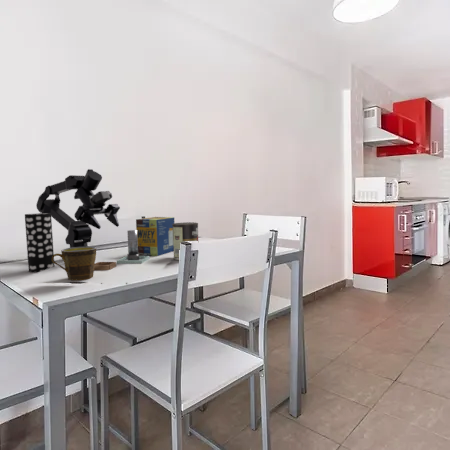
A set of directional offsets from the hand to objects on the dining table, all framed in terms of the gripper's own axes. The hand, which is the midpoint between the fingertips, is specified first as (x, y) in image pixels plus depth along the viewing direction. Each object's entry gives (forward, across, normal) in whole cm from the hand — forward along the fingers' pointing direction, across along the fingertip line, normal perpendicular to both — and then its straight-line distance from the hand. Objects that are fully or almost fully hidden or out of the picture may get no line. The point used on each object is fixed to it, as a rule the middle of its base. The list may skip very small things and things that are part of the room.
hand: (109, 227), depth 146 cm
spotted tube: (+2, -22, +18) cm, 28 cm away
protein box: (+12, +24, +8) cm, 28 cm away
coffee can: (+26, +18, -7) cm, 33 cm away
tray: (+18, +1, +1) cm, 18 cm away
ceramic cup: (+22, -29, -2) cm, 36 cm away
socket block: (+18, -14, +1) cm, 23 cm away
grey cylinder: (+17, 0, +1) cm, 17 cm away
